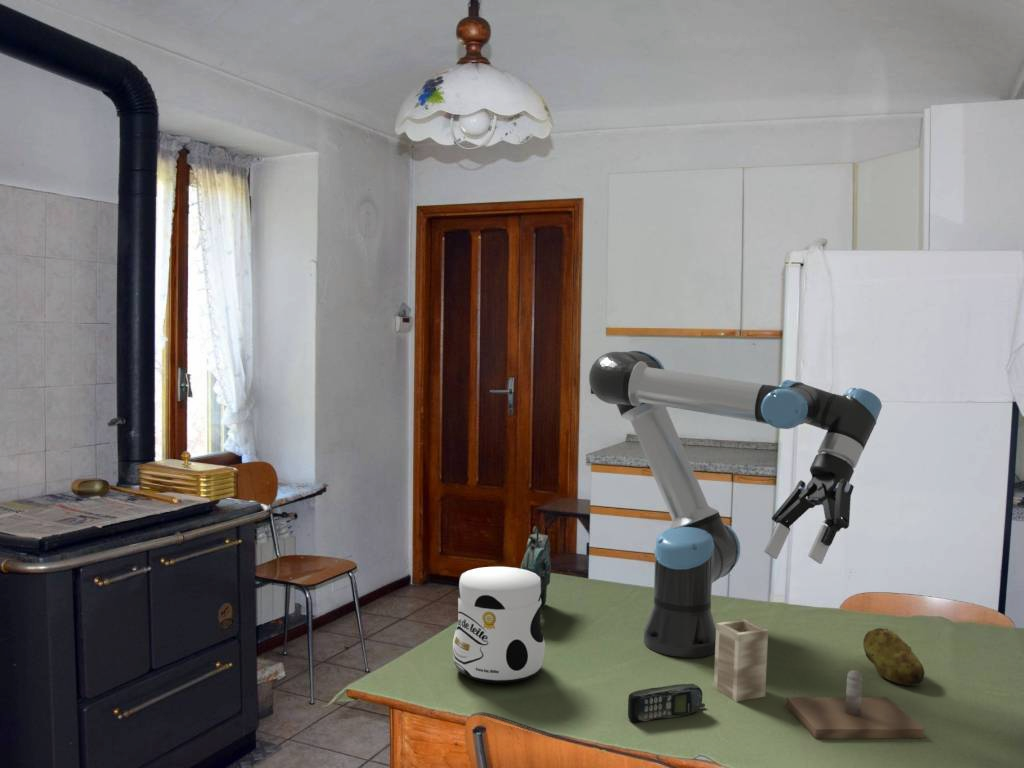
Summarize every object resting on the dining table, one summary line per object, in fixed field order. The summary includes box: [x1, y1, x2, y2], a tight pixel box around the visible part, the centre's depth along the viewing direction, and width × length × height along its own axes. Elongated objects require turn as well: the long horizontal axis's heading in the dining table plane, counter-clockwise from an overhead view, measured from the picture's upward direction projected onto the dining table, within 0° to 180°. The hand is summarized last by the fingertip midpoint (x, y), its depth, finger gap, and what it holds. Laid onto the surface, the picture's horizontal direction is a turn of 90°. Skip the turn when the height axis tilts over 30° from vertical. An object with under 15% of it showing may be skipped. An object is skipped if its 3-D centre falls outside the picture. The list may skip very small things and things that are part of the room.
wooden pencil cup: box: [713, 618, 769, 703], centre depth 153 cm, size 6×6×12 cm
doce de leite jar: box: [451, 566, 546, 684], centre depth 159 cm, size 17×17×18 cm
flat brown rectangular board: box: [785, 669, 925, 740], centre depth 143 cm, size 18×12×9 cm, turn 94°
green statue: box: [519, 525, 552, 609], centre depth 192 cm, size 20×6×20 cm, turn 169°
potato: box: [862, 627, 925, 687], centre depth 162 cm, size 8×13×8 cm, turn 178°
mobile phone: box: [627, 683, 706, 723], centre depth 143 cm, size 5×3×15 cm
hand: (791, 557), depth 160 cm, fingers open, 13 cm apart
